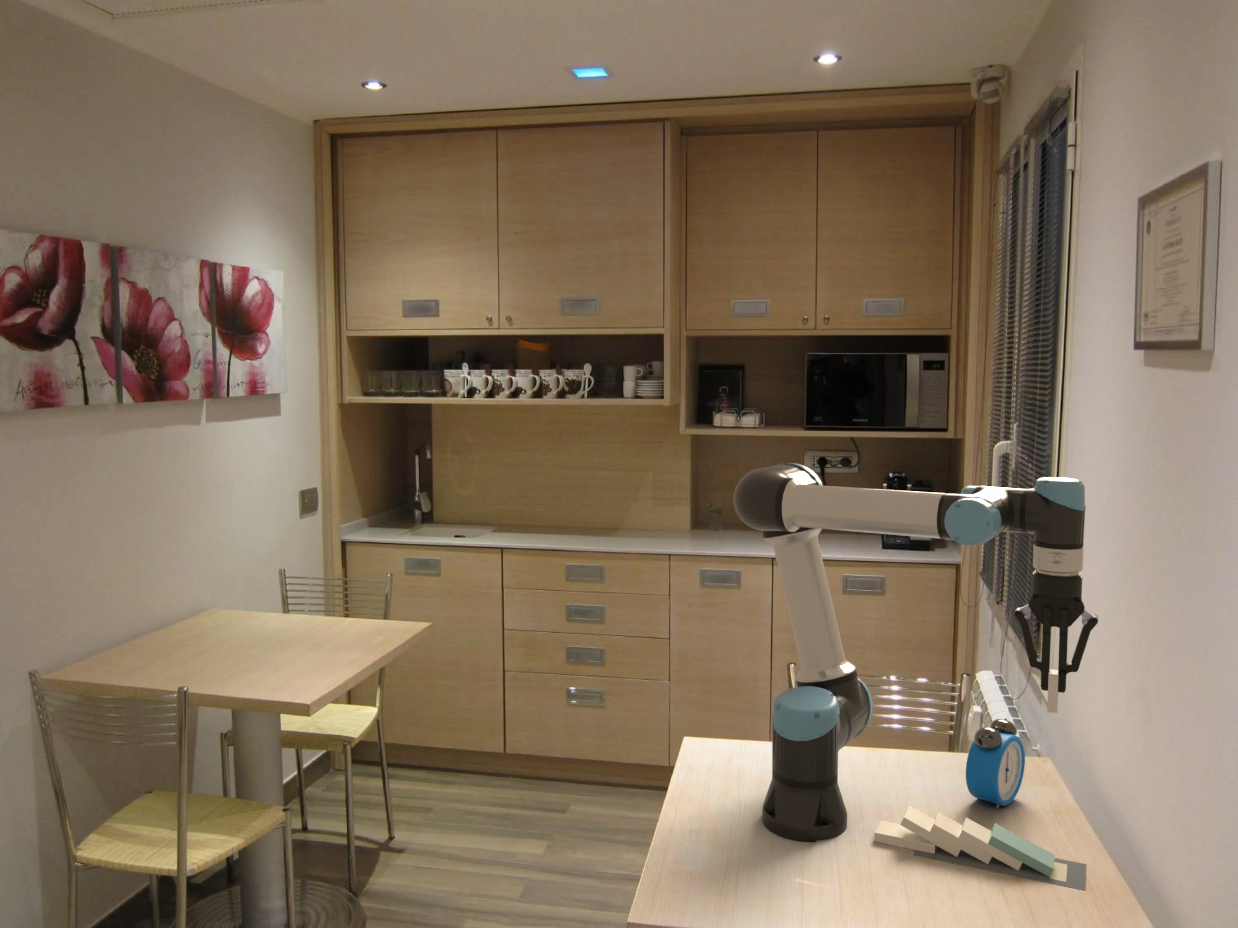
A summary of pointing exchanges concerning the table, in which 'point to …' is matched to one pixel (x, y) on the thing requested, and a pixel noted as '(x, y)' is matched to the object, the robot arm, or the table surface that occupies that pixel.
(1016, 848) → the domino
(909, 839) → the domino
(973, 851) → the domino
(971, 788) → the alarm clock
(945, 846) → the domino
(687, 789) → the table surface
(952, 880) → the table surface
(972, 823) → the domino
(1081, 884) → the mat
